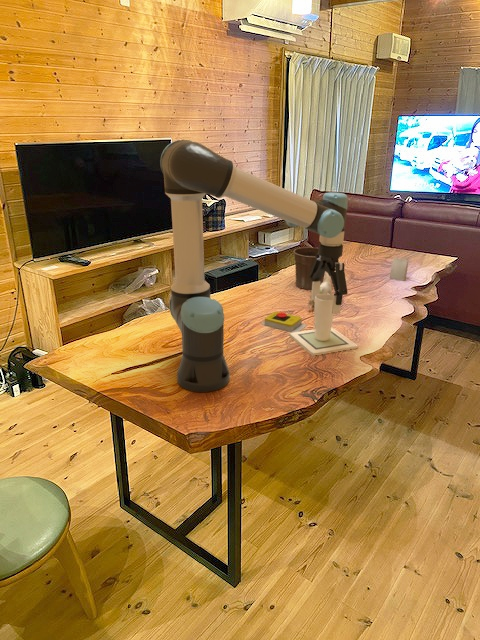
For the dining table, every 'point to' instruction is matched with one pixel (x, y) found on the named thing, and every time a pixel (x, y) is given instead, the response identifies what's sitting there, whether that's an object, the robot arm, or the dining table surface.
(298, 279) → the plant pot
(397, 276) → the tea bag
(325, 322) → the drinking glass
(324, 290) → the unicorn figurine
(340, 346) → the picture board
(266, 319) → the emergency button
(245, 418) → the dining table surface
